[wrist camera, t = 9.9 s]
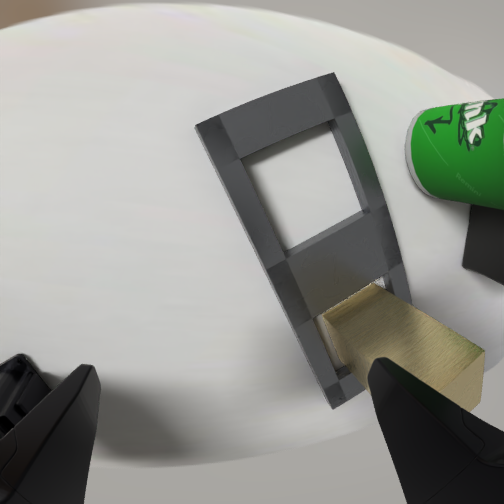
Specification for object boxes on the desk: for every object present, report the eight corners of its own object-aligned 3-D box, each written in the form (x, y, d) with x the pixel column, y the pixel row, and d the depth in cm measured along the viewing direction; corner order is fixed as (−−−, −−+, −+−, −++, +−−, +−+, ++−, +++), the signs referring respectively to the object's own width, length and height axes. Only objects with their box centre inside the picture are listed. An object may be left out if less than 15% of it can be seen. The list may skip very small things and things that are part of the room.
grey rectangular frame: (327, 401, 26) (332, 409, 25) (194, 128, 19) (195, 125, 17) (413, 344, 27) (420, 350, 26) (326, 76, 19) (334, 72, 18)
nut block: (339, 359, 25) (422, 451, 14) (321, 314, 24) (417, 409, 12) (386, 328, 26) (480, 402, 14) (373, 282, 24) (484, 350, 13)
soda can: (460, 188, 24) (567, 207, 13) (404, 205, 23) (530, 233, 12) (447, 108, 22) (557, 99, 11) (388, 112, 21) (516, 91, 10)
